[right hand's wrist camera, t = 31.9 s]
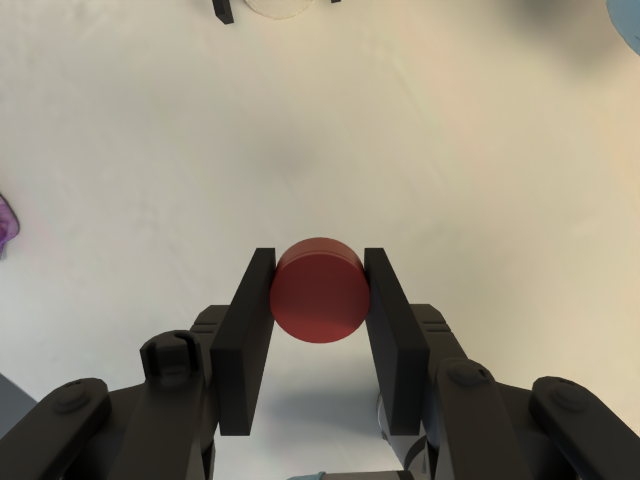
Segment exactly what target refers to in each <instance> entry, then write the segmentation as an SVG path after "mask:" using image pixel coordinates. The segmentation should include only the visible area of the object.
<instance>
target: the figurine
mask: <svg viewBox="0 0 640 480" xmlns="http://www.w3.org/2000/svg"><path fill="white" fill-rule="evenodd" d="M17 233H18V222H17V220H16V218H15V217H14V215H13V214H12V212H11V210H10V209H9V207H8V206H7V204H6V202H5V201H4V200H3V199H2V197H1V196H0V259H1V255H2V249H3V245H4V244H5V242H6V241H8V240H10V239H12V238H14V237H15V236H16V235H17Z"/></svg>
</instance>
